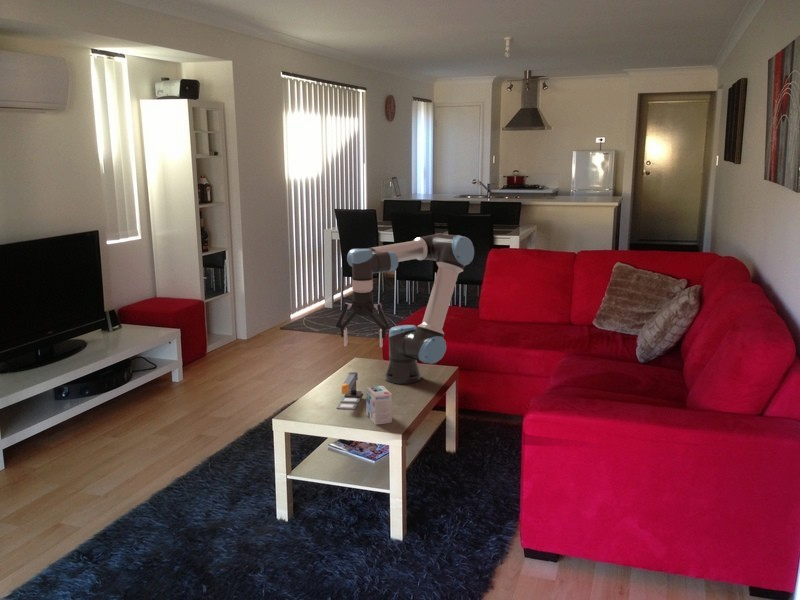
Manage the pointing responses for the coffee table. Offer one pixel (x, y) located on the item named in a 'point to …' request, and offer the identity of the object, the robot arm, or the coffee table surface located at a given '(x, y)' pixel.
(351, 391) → the post
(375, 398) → the light bulb box
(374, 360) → the coffee table surface
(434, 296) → the robot arm
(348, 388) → the cable arm
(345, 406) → the label
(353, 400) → the label
